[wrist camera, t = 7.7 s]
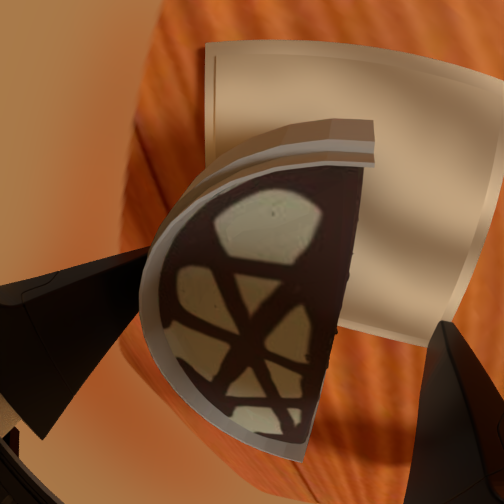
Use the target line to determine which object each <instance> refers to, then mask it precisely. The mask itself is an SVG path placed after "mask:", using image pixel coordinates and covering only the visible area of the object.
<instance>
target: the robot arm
mask: <svg viewBox="0 0 504 504" xmlns="http://www.w3.org/2000/svg"><path fill="white" fill-rule="evenodd" d="M149 249H150V246H148V247H144V248H140V249H136V250H133V251H129V252H125V253H121V254H118V255H115V256H111V257H107V258H103V259H100V260H96V261H93V262H89V263H85V264H81V265H78V266H74V267H71V268H68V269H64V270H60V271H56V272H53V273H49V274H46V275H42V276H39V277H35V278H31V279H26V280H22V281H18V282H14V283H10V284H6V285H2V286H0V504H64V503H63V502H62V501H61V500H60V499H59V498H58V497H57V496H55V495H54V494H53V493H52V492H51V491H50V490H49V489H48V488H47V487H46V486H45V485H44V484H43V483H42V482H41V481H40V480H39V479H38V478H37V477H36V476H35V475H34V474H33V473H32V472H31V471H30V470H29V469H28V468H27V467H26V466H25V465H24V464H23V462H22V461H21V460H20V459H19V430H18V429H17V428H16V427H15V425H16V424H17V423H18V422H19V421H20V420H21V419H22V420H23V422H24V423H25V424H26V425H27V426H28V427H29V428H30V429H31V430H32V431H33V432H34V433H35V434H36V435H37V436H38V437H39V438H40V439H41V440H43V439H44V438H45V437H46V435H47V434H48V433H49V431H50V430H51V428H52V427H53V426H54V424H55V423H56V421H57V420H58V418H59V417H60V416H61V414H62V413H63V411H64V410H65V409H66V407H67V405H68V404H69V403H70V402H71V400H72V399H73V397H74V395H75V394H76V393H77V392H78V390H79V389H80V388H81V386H82V385H83V383H84V382H85V380H86V379H87V378H88V376H89V375H90V374H91V373H92V371H93V370H94V369H95V367H96V366H97V365H98V363H99V362H100V360H101V359H102V358H103V357H104V355H105V354H106V353H107V352H108V350H109V349H110V348H111V346H112V345H113V344H114V342H115V341H116V340H117V339H118V337H119V336H120V335H121V333H122V332H123V331H124V330H125V328H126V327H127V326H128V324H129V323H130V322H131V321H132V319H133V318H134V317H135V316H136V314H137V313H138V312H139V289H140V284H141V279H142V274H143V269H144V267H145V264H146V260H147V256H148V251H149ZM403 504H504V400H503V399H502V397H501V395H500V394H499V392H498V390H497V389H496V387H495V385H494V384H493V382H492V380H491V379H490V377H489V375H488V374H487V372H486V371H485V369H484V368H483V366H482V364H481V363H480V361H479V360H478V358H477V357H476V355H475V354H474V352H473V351H472V349H471V348H470V346H469V345H468V343H467V342H466V340H465V339H464V337H463V336H462V335H461V333H460V332H459V330H458V329H457V327H456V326H455V325H454V323H452V322H449V321H444V320H441V321H439V323H438V324H437V326H436V328H435V330H434V333H433V335H432V337H431V339H430V341H429V343H428V347H427V354H426V361H425V367H424V373H423V379H422V385H421V391H420V398H419V409H418V419H417V428H416V436H415V443H414V450H413V456H412V463H411V468H410V474H409V479H408V484H407V489H406V494H405V498H404V502H403Z"/></svg>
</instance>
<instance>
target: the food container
mask: <svg viewBox="0 0 504 504" xmlns="http://www.w3.org/2000/svg"><path fill="white" fill-rule="evenodd" d="M374 146H375V136H374V123H373V120H363V119H338V118H331V119H323V120H316V121H308V122H302V123H295V124H289V125H286V126H283V127H280V128H277V129H274V130H272V131H269V132H266V133H263V134H260V135H257V136H255V137H252V138H250V139H248V140H247V141H245V142H243V143H241V144H240V145H238V146H236V147H234V148H233V149H231V150H229V151H228V152H226V153H224V154H222V155H221V156H220V157H218V158H217V159H216V160H215V161H214V162H213V163H212V164H210V165H209V166H208V167H207V168H206V169H205V170H204V171H202V172H201V173H200V174H199V175H198V176H197V177H196V178H195V179H194V181H193V182H192V183H191V184H190V186H189V187H188V188H187V190H186V191H185V192H184V194H183V195H182V196H181V198H180V199H179V200H178V202H177V203H176V204H175V206H174V207H173V208H172V210H171V211H170V212H169V214H168V215H167V217H166V218H165V219H164V221H163V222H162V224H161V225H160V227H159V229H158V231H157V233H156V235H155V237H154V240H153V242H152V244H151V246H150V249H149V251H148V256H147V260H146V264H145V267H144V269H143V274H142V279H141V284H140V289H139V316H140V320H141V325H142V330H143V335H144V338H145V340H146V343H147V345H148V348H149V351H150V353H151V356H152V357H153V359H154V361H155V363H156V364H157V366H158V368H159V370H160V371H161V373H162V375H163V376H164V377H165V379H166V380H167V381H168V383H169V384H170V385H171V387H172V388H173V389H174V390H175V392H176V393H177V394H178V395H179V396H180V397H181V398H182V399H183V400H184V401H185V402H186V403H187V404H188V405H189V406H190V407H191V408H192V409H194V410H195V411H196V412H197V413H198V414H199V415H201V416H202V417H203V418H204V419H205V420H207V421H208V422H210V423H211V424H213V425H214V426H216V427H217V428H218V429H220V430H221V431H223V432H225V433H226V434H228V435H230V436H232V437H234V438H235V439H237V440H239V441H241V442H243V443H245V444H247V445H249V446H252V447H254V448H256V449H258V450H261V451H263V452H266V453H269V454H272V455H275V456H278V457H281V458H285V459H289V460H293V461H297V462H301V463H302V462H303V458H304V455H305V452H306V448H307V445H308V441H309V438H310V434H311V430H312V427H313V423H314V419H315V415H316V411H317V407H318V403H319V399H320V395H321V391H322V387H323V383H324V378H325V374H326V369H327V368H328V365H329V359H330V353H331V349H332V344H333V340H334V336H335V334H337V333H338V331H337V324H338V319H339V315H340V311H341V309H342V306H343V305H342V303H343V298H344V294H345V290H346V285H347V282H348V280H349V277H350V273H349V270H350V265H351V259H352V255H353V254H354V253H353V248H354V242H355V236H356V230H357V223H358V221H359V209H360V201H361V193H362V185H363V174H364V167H370V168H374V167H375V159H374Z"/></svg>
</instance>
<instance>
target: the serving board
mask: <svg viewBox="0 0 504 504" xmlns="http://www.w3.org/2000/svg"><path fill="white" fill-rule="evenodd" d="M331 118H338V119H363V120H373V123H374V136H375V146H374V159H375V167H374V168H370V167H364V174H363V185H362V193H361V201H360V209H359V221H358V223H357V230H356V236H355V242H354V248H353V253H354V254H353V255H352V259H351V265H350V270H349V273H350V277H349V280H348V282H347V285H346V290H345V294H344V298H343V303H342V305H343V306H342V309H341V311H340V315H339V319H338V324H337V325H338V326H342V327H345V328H349V329H353V330H357V331H361V332H365V333H369V334H373V335H377V336H380V337H385V338H389V339H393V340H397V341H401V342H405V343H409V344H414V345H418V346H422V347H426V348H427V347H428V343H429V341H430V339H431V337H432V335H433V333H434V330H435V328H436V326H437V324H438V323H439V321H441V320H444V321H449V322H451V321H452V319H453V317H454V315H455V313H456V311H457V308H458V306H459V304H460V302H461V300H462V297H463V295H464V293H465V291H466V288H467V286H468V284H469V281H470V279H471V276H472V274H473V271H474V269H475V266H476V264H477V261H478V259H479V256H480V253H481V250H482V248H483V245H484V242H485V239H486V236H487V233H488V230H489V227H490V224H491V221H492V217H493V214H494V211H495V207H496V204H497V200H498V196H499V193H500V189H501V185H502V181H503V176H504V81H502V80H500V79H497V78H494V77H492V76H489V75H486V74H483V73H480V72H477V71H474V70H471V69H468V68H464V67H461V66H458V65H454V64H451V63H447V62H443V61H440V60H436V59H432V58H427V57H423V56H419V55H414V54H409V53H404V52H399V51H394V50H388V49H382V48H376V47H369V46H362V45H353V44H344V43H334V42H321V41H304V40H242V41H224V42H211V43H205V169H206V168H207V167H208V166H209V165H210V164H212V163H213V162H214V161H215V160H216V159H217V158H218V157H220V156H221V155H222V154H224V153H226V152H228V151H229V150H231V149H233V148H234V147H236V146H238V145H240V144H241V143H243V142H245V141H247V140H248V139H250V138H252V137H255V136H257V135H260V134H263V133H266V132H269V131H272V130H274V129H277V128H280V127H283V126H286V125H289V124H295V123H302V122H308V121H316V120H323V119H331Z"/></svg>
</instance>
